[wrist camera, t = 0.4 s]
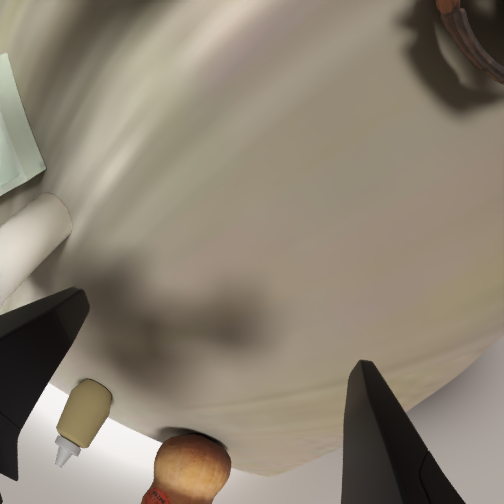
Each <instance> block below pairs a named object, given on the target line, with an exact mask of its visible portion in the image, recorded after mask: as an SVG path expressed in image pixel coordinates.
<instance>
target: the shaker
mask: <svg viewBox="0 0 504 504" xmlns="http://www.w3.org/2000/svg"><path fill="white" fill-rule="evenodd" d="M71 231H72V220H71V217H70V214H69V212H68V210H67V208H66V206H65V205H64V204H63V202H62V201H61V200H60V199H59V198H58V197H56V196H55V195H53V194H51V193H42V194H41V195H39V196H38V197H37V198H35V199H34V200H33V201H31V202H30V203H29V204H27V205H26V206H25V207H24V208H22V209H21V210H20V211H18V212H17V213H16V214H15V215H13V216H12V217H11V218H10V219H9V220H7V221H6V222H5V223H4V224H3V225H1V226H0V308H1V306H2V305H3V304H4V303H5V302H6V301H7V299H8V298H9V297H10V296H11V295H12V294H13V293H14V291H15V290H16V289H17V288H18V287H19V286H20V285H21V284H22V283H23V281H24V280H25V279H26V278H27V277H28V276H29V275H30V274H31V273H32V272H33V271H34V270H35V269H36V268H37V267H38V265H39V264H40V263H41V262H42V261H43V260H44V259H45V258H46V257H47V256H48V255H49V254H50V253H51V252H52V251H53V250H54V249H55V248H56V247H57V246H58V245H59V244H60V243H61V242H62V241H63V240H64V239H66V238H67V237H68V236H69V235H70V233H71Z"/></svg>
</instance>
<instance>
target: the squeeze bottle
mask: <svg viewBox="0 0 504 504" xmlns="http://www.w3.org/2000/svg"><path fill="white" fill-rule="evenodd" d="M111 397H112V395H111V393H110V392H109V391H108V390H107V389H106V388H104V387H103V386H102V385H100V384H98V383H97V382H95V381H92V380H89V379H85V380H84V381H83V382H81V383H80V384H79V385H78V386H77V387H75V388H74V389H73V390H72V391H71V393H70V396H69V398H68V400H67V403H66V405H65V407H64V410H63V412H62V414H61V417H60V419H59V422H58V424H57V427H56V428H57V431H58V433H59V434H60V435H61V436H62V437H61V436H58V437H57V439H56V441H55V443H56V444H57V445H58V446H59V449H58V454H57V458H56V463H55V464H56V465H58V466H59V467H62V466H63V465H64V464H65V462H66V461H67V460H68V459H69V458H70V457H71V455H75V456H78V455H79V453H80V451H81V449H80V448H79V447H81V448H88V447H89V445H90V444H91V442H92V440H93V439H94V437H95V436H96V434H97V433H98V431H99V429H100V428H101V426H102V425H103V423H104V422H105V420H106V419H107V417H108V416H109V413H110V405H111Z"/></svg>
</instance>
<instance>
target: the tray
mask: <svg viewBox="0 0 504 504" xmlns="http://www.w3.org/2000/svg"><path fill="white" fill-rule="evenodd" d="M45 169H46V166H45V164H44V162H43V159H42V157H41V154H40V152H39V149H38V147H37V144H36V142H35V139H34V136H33V134H32V131H31V128H30V126H29V123H28V120H27V117H26V114H25V111H24V109H23V106H22V102H21V99H20V96H19V93H18V90H17V87H16V83H15V80H14V76H13V73H12V69H11V65H10V62H9V58H8V54H7V53H5V54H1V55H0V196H1V195H3V194H5V193H6V192H8V191H10V190H12V189H13V188H15V187H17V186H19V185H21V184H23V183H24V182H26V181H28V180H30V179H31V178H33V177H34V176H36V175H37V174H39V173H40V172H42V171H43V170H45Z"/></svg>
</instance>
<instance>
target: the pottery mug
mask: <svg viewBox="0 0 504 504" xmlns="http://www.w3.org/2000/svg"><path fill="white" fill-rule="evenodd" d="M435 1H436V6H437V10H439V11H440V19H441V21H442V23H443V24H444V26H445V28H446V29H447V31H448V33H449V34H450V35H451V37H452V38H453V40H454V41H455V43H456V44H457V46H458V47H459V48H460V49H461V51H462V52H463V53H464V54H465V56H466V57H467V58H468V59H469V60H470V61H471V62H472V63H473V64H474V65H475V66H476V67H477V68H478V69H480V70H485V71H486V72H487V73H488V75H489V76H490V77H491V78H492V79H494V80H496V81H497V82H499V83H501V84H503V85H504V67H503V66H502V65H500V64H499V63H498V62H496V61H495V60H494V59H493V58H492V57H491V56H490V55H489V54H488V53H487V52H486V51H485V50H484V49H483V47H482V46H481V45H480V43H479V42H478V40H477V39H476V37H475V35H474V34H473V32H472V29H471V27H470V25H469V22H468V18H467V14H466V11H465V9H464V8H460V0H435Z"/></svg>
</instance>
